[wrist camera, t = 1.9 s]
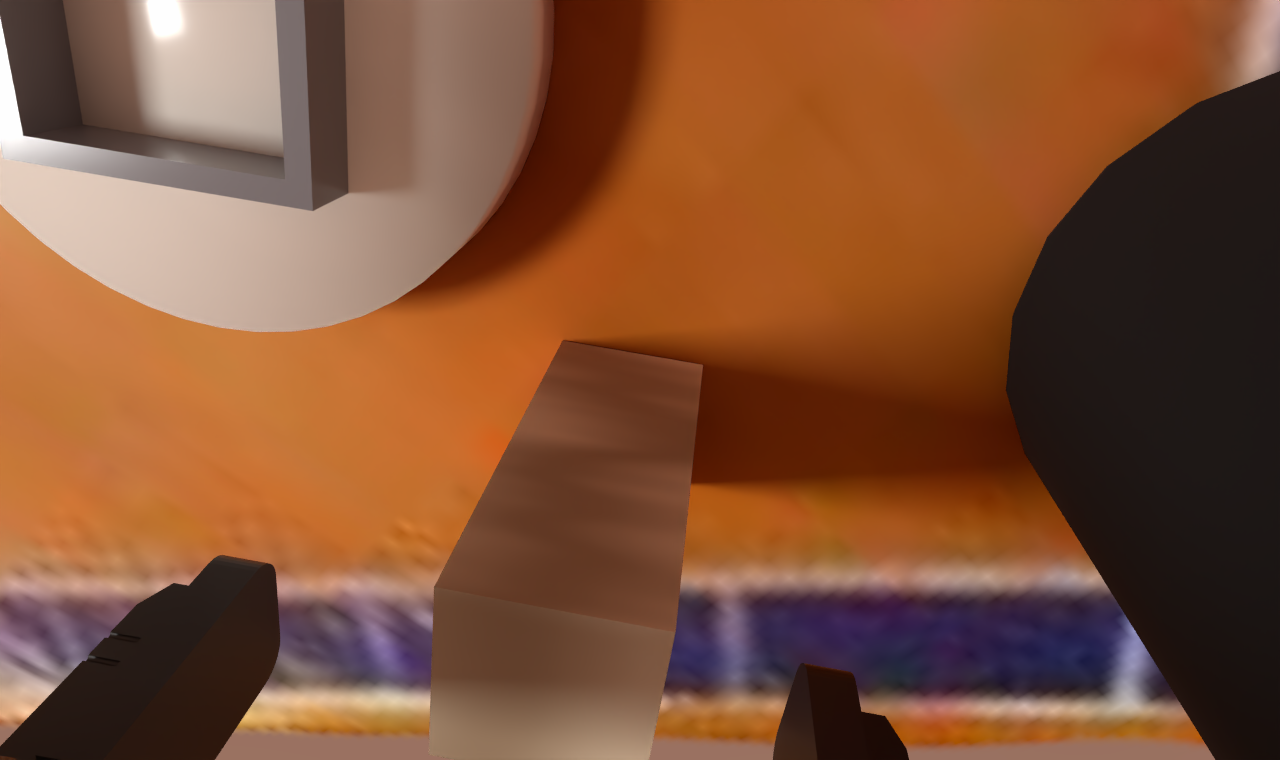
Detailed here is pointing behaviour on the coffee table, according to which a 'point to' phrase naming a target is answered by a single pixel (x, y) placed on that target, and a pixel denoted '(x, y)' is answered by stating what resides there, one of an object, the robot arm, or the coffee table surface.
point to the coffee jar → (1173, 402)
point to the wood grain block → (570, 569)
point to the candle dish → (266, 144)
